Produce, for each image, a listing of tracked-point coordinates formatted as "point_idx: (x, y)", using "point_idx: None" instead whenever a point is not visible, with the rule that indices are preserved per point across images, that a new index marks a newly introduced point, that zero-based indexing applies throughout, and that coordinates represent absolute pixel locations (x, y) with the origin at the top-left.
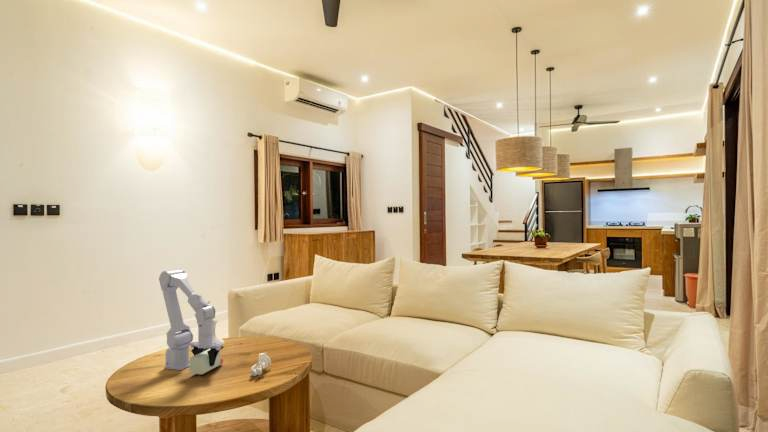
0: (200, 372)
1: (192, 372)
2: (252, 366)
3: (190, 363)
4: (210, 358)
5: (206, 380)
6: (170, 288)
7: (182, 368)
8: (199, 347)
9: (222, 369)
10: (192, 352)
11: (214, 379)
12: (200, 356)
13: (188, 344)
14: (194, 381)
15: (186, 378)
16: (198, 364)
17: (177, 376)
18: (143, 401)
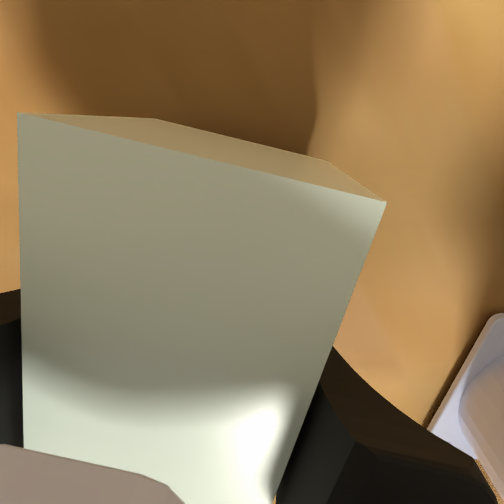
0: (169, 124)
1: (294, 154)
2: None
3: (344, 176)
4: (20, 298)
5: (74, 48)
6: None
7: (489, 334)
8: (15, 491)
9: None
10: (432, 435)
11: (6, 84)
12: (161, 281)
13: None
14: (197, 6)
15: (340, 99)
16: (167, 132)
17: (473, 156)
18: None
